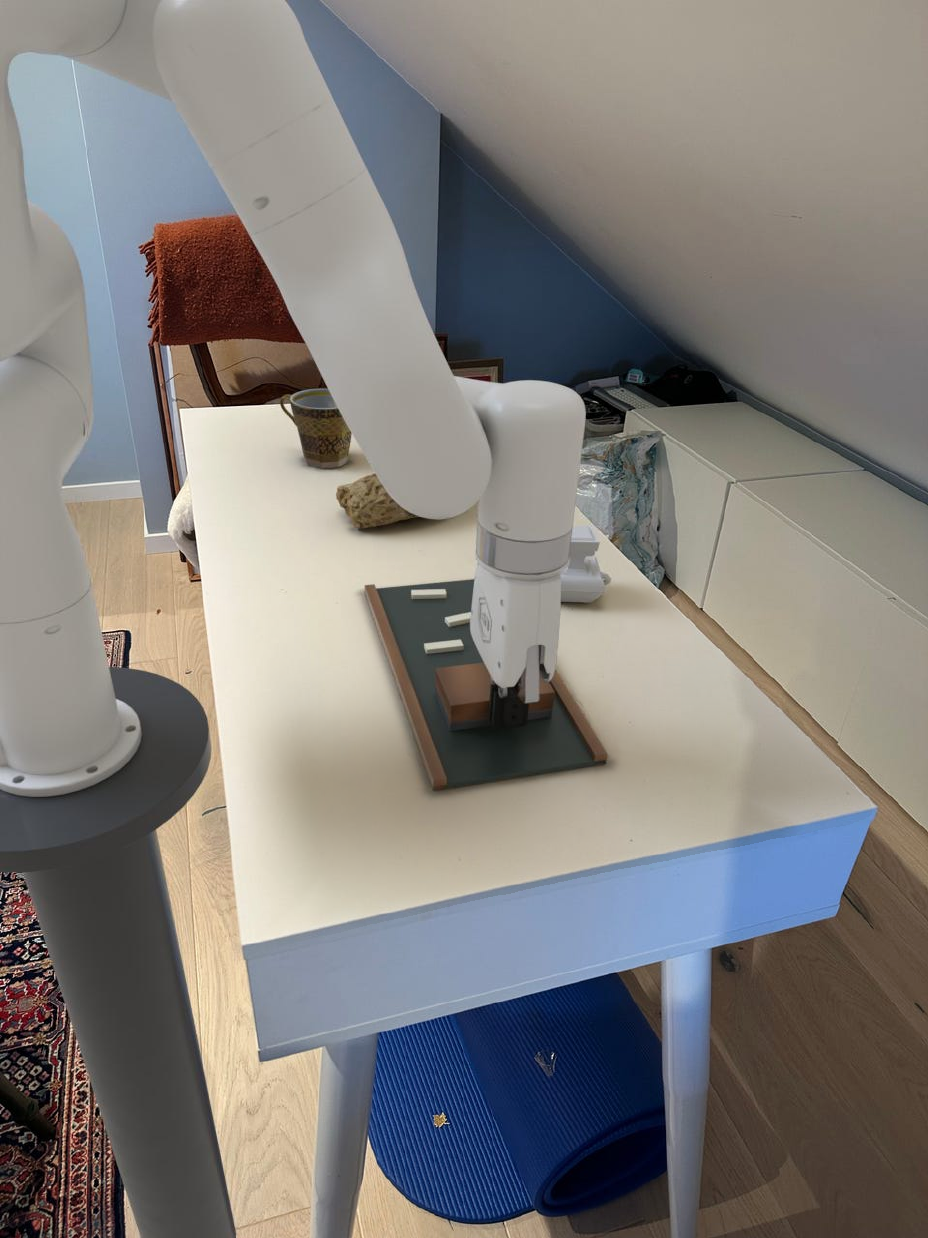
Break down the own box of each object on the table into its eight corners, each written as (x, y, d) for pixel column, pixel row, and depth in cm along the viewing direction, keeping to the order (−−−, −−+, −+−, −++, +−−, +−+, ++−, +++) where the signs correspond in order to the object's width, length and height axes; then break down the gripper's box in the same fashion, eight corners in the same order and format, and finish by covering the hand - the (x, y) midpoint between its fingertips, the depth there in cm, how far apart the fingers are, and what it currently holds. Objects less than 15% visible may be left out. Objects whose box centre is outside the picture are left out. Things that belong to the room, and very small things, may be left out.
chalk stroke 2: (426, 654, 90) (426, 649, 89) (423, 648, 91) (424, 643, 90) (463, 650, 91) (463, 645, 90) (460, 643, 92) (460, 639, 91)
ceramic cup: (369, 457, 138) (369, 395, 132) (335, 477, 130) (332, 413, 125) (302, 441, 142) (298, 381, 137) (264, 460, 134) (259, 397, 129)
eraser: (449, 731, 79) (451, 705, 78) (434, 693, 84) (435, 668, 83) (551, 717, 82) (555, 691, 80) (531, 680, 87) (533, 656, 85)
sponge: (364, 549, 113) (497, 499, 118) (347, 494, 110) (486, 445, 115) (336, 525, 124) (460, 480, 130) (320, 474, 121) (448, 430, 126)
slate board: (433, 791, 73) (433, 780, 73) (364, 593, 101) (364, 584, 100) (606, 764, 77) (608, 753, 77) (494, 581, 105) (495, 572, 104)
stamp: (604, 582, 106) (613, 520, 101) (612, 610, 100) (623, 546, 96) (531, 580, 106) (537, 517, 101) (535, 608, 100) (542, 543, 95)
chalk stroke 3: (449, 627, 94) (449, 622, 94) (444, 621, 95) (444, 617, 95) (481, 620, 96) (481, 615, 96) (476, 615, 97) (477, 610, 97)
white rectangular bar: (412, 599, 99) (412, 594, 99) (411, 594, 100) (411, 589, 100) (446, 598, 100) (446, 594, 99) (445, 593, 101) (445, 588, 100)
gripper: (454, 506, 74) (447, 680, 83) (506, 592, 62) (491, 784, 71) (537, 500, 76) (520, 671, 85) (603, 583, 63) (575, 771, 73)
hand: (507, 722), depth 78 cm, fingers closed
